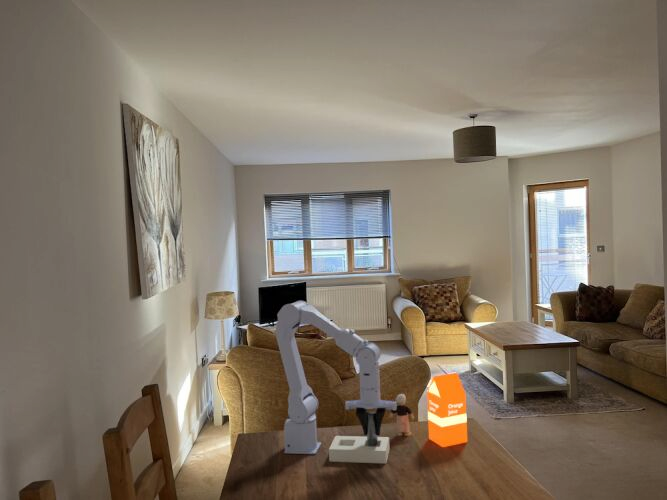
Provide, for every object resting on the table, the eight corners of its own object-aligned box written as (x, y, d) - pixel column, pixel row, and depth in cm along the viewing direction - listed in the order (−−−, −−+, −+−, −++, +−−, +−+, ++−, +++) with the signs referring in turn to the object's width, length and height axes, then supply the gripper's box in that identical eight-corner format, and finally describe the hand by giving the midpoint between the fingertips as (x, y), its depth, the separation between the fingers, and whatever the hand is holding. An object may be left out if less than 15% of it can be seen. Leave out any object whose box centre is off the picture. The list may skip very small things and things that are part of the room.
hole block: (329, 461, 148) (328, 449, 148) (336, 447, 158) (335, 435, 157) (386, 463, 145) (385, 450, 145) (389, 449, 154) (389, 437, 154)
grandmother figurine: (414, 431, 167) (412, 392, 167) (415, 436, 163) (413, 395, 163) (390, 432, 168) (388, 392, 168) (390, 436, 164) (388, 396, 164)
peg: (366, 446, 149) (364, 414, 149) (368, 442, 152) (367, 411, 152) (376, 446, 148) (375, 415, 148) (378, 442, 151) (377, 411, 151)
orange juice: (428, 438, 161) (425, 373, 161) (453, 433, 164) (450, 369, 164) (442, 447, 154) (439, 379, 153) (468, 442, 157) (465, 375, 156)
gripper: (342, 390, 147) (344, 438, 148) (394, 391, 145) (396, 440, 145) (346, 383, 154) (348, 429, 155) (396, 384, 152) (398, 430, 152)
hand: (372, 434), depth 150 cm, fingers closed on peg, 3 cm apart
